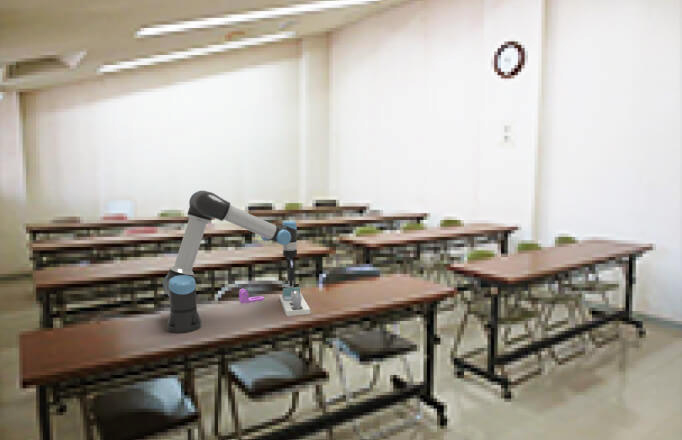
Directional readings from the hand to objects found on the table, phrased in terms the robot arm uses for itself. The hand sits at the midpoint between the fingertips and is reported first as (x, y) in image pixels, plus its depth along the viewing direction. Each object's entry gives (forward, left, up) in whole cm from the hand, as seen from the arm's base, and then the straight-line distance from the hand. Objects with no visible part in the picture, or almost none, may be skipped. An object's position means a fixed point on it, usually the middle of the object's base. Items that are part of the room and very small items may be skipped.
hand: (290, 291), depth 258 cm
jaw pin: (0, -14, -5) cm, 15 cm away
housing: (0, -10, -5) cm, 11 cm away
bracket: (-21, +6, -6) cm, 22 cm away
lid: (0, -4, -3) cm, 5 cm away
